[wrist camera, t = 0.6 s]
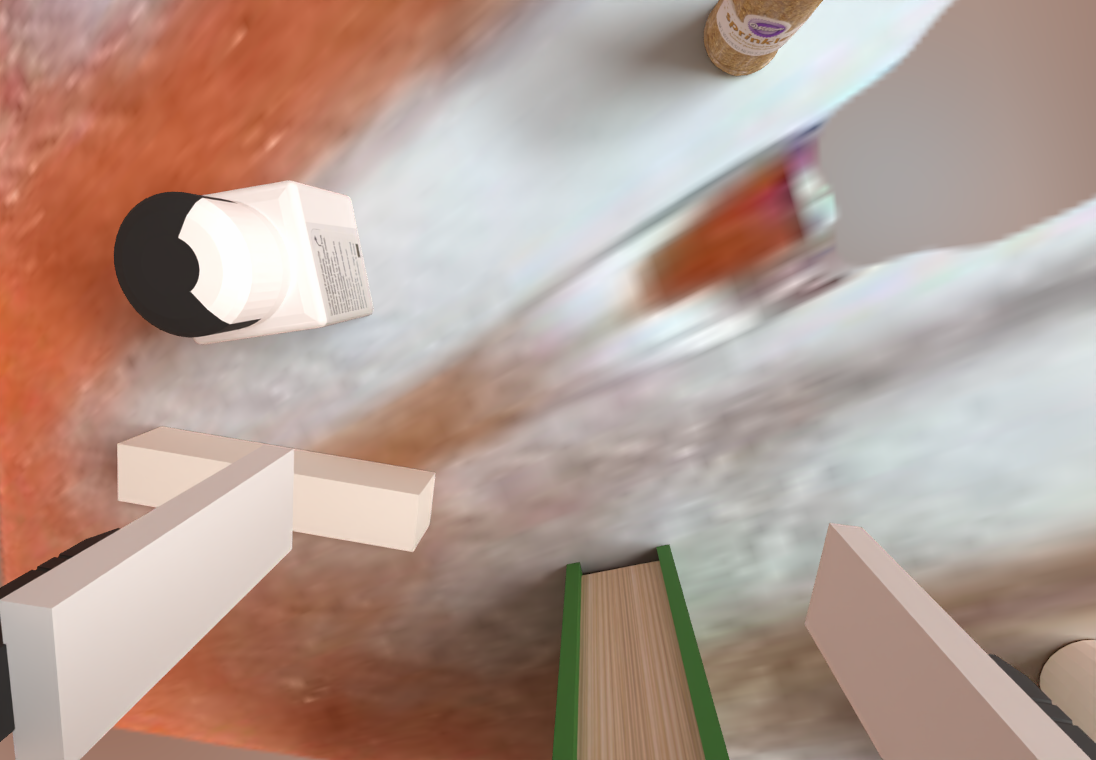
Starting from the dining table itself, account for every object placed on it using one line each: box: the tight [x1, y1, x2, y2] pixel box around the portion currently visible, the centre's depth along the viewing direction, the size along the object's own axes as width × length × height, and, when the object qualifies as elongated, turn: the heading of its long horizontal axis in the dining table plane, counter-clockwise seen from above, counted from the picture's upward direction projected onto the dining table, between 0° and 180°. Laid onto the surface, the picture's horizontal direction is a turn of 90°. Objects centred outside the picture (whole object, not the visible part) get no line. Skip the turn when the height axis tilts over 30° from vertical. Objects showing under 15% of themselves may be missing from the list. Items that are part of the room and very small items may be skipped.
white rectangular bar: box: [117, 426, 436, 552], centre depth 40 cm, size 4×20×4 cm, turn 82°
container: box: [114, 180, 374, 345], centre depth 32 cm, size 8×8×13 cm
